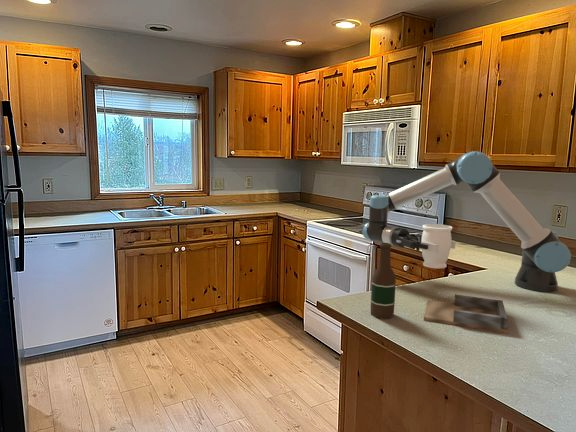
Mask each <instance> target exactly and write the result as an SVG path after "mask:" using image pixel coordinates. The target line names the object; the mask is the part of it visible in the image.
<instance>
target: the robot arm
mask: <svg viewBox="0 0 576 432" xmlns="http://www.w3.org/2000/svg"><path fill="white" fill-rule="evenodd" d="M500 176H501V171H500V170H498V169H497V168H496V166H495V165H494V164H493V163H492V160H491V159H490V157H489V156H488V155H486V154H485V153H483V152H481V151H478V150H477V151H475V150H474V151H469V152H466V153H462V154H461V155H460V156H459V157H457V158H456V159H454V160H452V161H450V162H449V163H448V162H447V164H445V166H444V168H442V169H439V170H436V171H435V172H432V173H430V174H428V175H426V176H423V177H421V178H419V179H417V180H415V181H413V182H410V183H409V184H405V185H404V186H402V187H399V188H397V189H395V190H393V191H391V192H389V193H386V194H384V195H383V194H374V195H373V194H372V195H371V196H370V198H369V214H368V215H369V216H368V217H369V218H368V222H366V223H365V224H364V225H363V229H362V235H363V237H364V238H365V239H366V240H367V241H371V242H374V243H375V242H376V243H379V244H381V243H390V244H391V246H394V247H398V248H404V247H406V248H409V249H411V250H415V251H416V252H419V251H422V250H426V251H431V252H436V253H437V251H438V245H436V244H431V243H426V242H421V239H422V234H419V233H417V234H415V233H410V231H409V230H408V229H407V228H403V227H398V226H392V225H388V215H389V213H390V212H393V211H394V210H397V209H398V208H401V207H403V206H405V205H407V204H410V203H413V202H414V201H417V200H419V199H421V198H424V197H426V196H429V195H431V194H433V193H436V192H438V191H439V190H442V189H444V188H447V187H449V186H451V185H453V186H458V185H460V184H462V183H465V185H467V187H468V188H469V189H470V190H471V191H472V192H473V193H475V194H476V193H477V194H480V195H481V196H482V198H483V199H484V200H485V201H486V202H487V203H488V205H490V207H491V208H492V210H494V211H495V212H496V214H497V215H498V216H499V218H501V220H502V221H503V222H504V224H506V225H507V227H508V228H509V229H510V230H511V231H512V233H514V234H515V236H516V237H517V238H518V239H519V240H520V241H521V244H520V248H521V249H522V254H521V264H520V267H519V270H518V272H517V273H516V275H515V277H514V284H515V285H516V286H518V288H519V287H520V288H521V289H522V288H523V289H526V290H531V291H535V292H549V293H550V292H556V291H558V286H559V283H558V280H557V275H556V273H558V272H561V271H563V270H564V269H566V268H568V266H569V265H570V262H571V259H572V253H571V250H570V248H568V246H567V245H566V244H564V243H563V242H561V241H560V239H559V234H558V232H556V231H552V230H551V229H550V228H545V227H542V226H541V224H540V223H539V222H538V221H537V220H536V219H535V217H534V216H533V215H532V214H531V213H530V212H529V211H528V210H527V209H526V207H525V205H523V204H522V203H521V202H520V201H519V199H518V198H517V197H516V196H515V195H514V194H513V192H511V190H510V189H509V188H508V187H507V186H506V185H505V184H504V182H503V181H502V180H501V178H500ZM450 249H452V250H453V249H456V241H455V240H451V248H450Z"/></svg>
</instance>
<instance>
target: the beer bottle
mask: <svg viewBox="0 0 576 432" xmlns="http://www.w3.org/2000/svg"><path fill="white" fill-rule="evenodd" d="M379 247H380V248H379V259H378V265H377V268H376V270H375V271H374V273H373V274H372V278H371V292H370V293H371V294H370V295H371V296H370V315H371V316H373V317H374V318H376V319H383V320H385V319H387V320H388V319H392V318H393V316H394V313H395V302H396V299H395V298H396V283H397V280H396V279H397V278H396V275H395V272H394V271H393V268H392V264H391V262H392V261H391V248H392V245H391V244H390V243H379Z"/></svg>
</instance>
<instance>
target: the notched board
mask: <svg viewBox="0 0 576 432" xmlns="http://www.w3.org/2000/svg"><path fill="white" fill-rule="evenodd" d="M423 321H427V322H435V323H441V324H446V325H447V324H448V325H453V326H459V327H466V328H472V329H477V330H478V329H479V330H484V331H491V332H495V333H496V332H497V333H504V334H508V332H509V329H508V315H507V312H506V308H505V304H504V301H503V300H502V299H501V300H500V299H494V298H486V297H479V296H478V297H477V296H471V295H470V296H469V295H463V294H454V303H450V302H442V301H436V300H435V301H434V300H427V302H426V306H425V311H424V314H423Z"/></svg>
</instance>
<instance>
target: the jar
mask: <svg viewBox="0 0 576 432" xmlns="http://www.w3.org/2000/svg"><path fill="white" fill-rule="evenodd" d="M421 228H422V229H423V231H422V233H421V235H422V239H421V242H426V243H431V244H436V245H438V251H437V253H436V252H431V251H426V250H422V249H421V254H422V255H421V256H422V258H423V260H424V261H423V262H422V265H423V266H424V267H426V268H430V269H446V268H447V264H446V262H447V261H448V259H449V256H450V252H451V249H452V248H451V241H452V233H451V231H452V230H453V226H451V225H447V224H440V223H426V224H422V227H421Z"/></svg>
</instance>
